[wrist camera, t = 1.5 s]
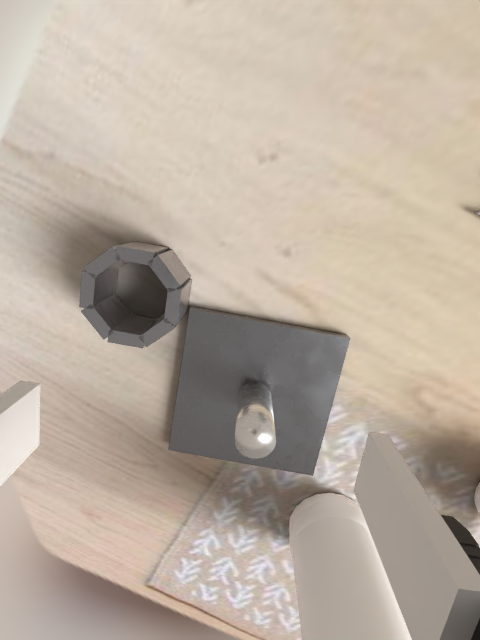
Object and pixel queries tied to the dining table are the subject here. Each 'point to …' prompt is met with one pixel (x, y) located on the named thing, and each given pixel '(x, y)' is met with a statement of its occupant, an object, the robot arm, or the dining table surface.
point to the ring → (112, 312)
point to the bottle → (340, 574)
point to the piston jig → (255, 390)
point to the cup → (477, 498)
